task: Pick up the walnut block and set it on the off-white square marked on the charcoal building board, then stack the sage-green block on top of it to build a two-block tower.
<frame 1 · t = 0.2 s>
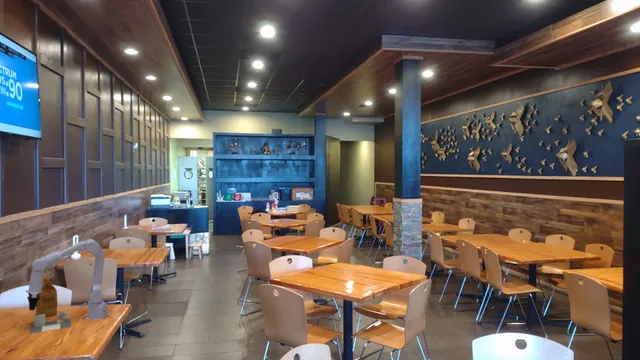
hand: (32, 308, 218), 10 cm above the table, tool pointing down, fingers open, 7 cm apart
coffee package: (46, 315, 238), on the table
sage block: (39, 325, 221), point 1 cm above the table, touching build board
walnut block: (62, 321, 226), point 1 cm above the table, touching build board
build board: (51, 326, 220), on the table
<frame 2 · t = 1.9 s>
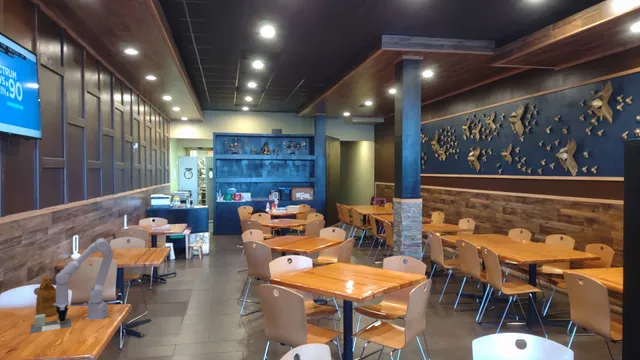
hand: (62, 319, 226), 2 cm above the table, tool pointing down, fingers closed on walnut block, 5 cm apart
walnut block: (62, 321, 226), point 1 cm above the table, touching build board, gripper
everything else where it was.
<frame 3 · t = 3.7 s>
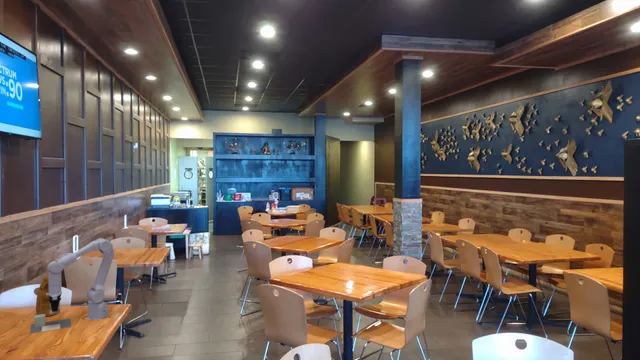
hand: (54, 310, 220), 9 cm above the table, tool pointing down, fingers closed on walnut block, 5 cm apart
walnut block: (54, 312, 220), point 8 cm above the table, touching gripper
everything else where it was.
when the fingers open (3 cm above the table, at t = 5.5 s): walnut block stays where it is, resting on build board.
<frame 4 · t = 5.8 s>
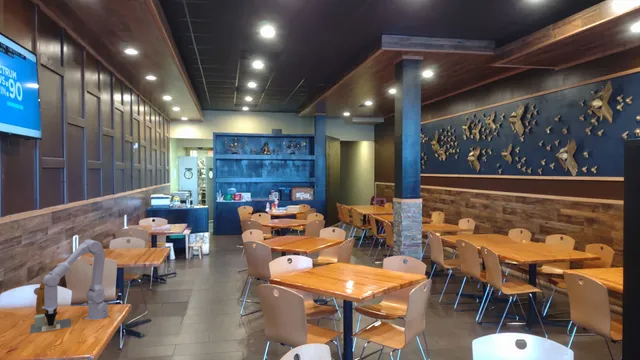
hand: (51, 323, 217), 3 cm above the table, tool pointing down, fingers open, 7 cm apart
walnut block: (50, 327, 217), point 1 cm above the table, touching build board
everything else where it was.
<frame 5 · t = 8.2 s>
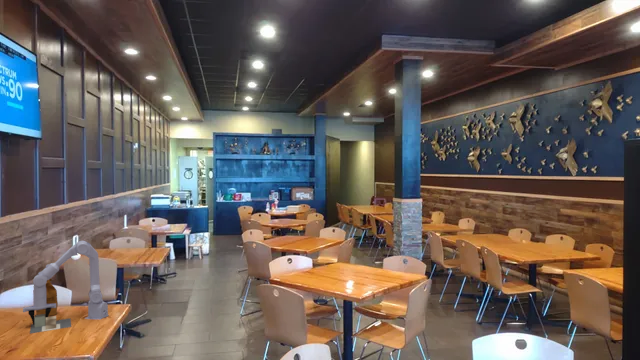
hand: (39, 323, 221), 2 cm above the table, tool pointing down, fingers closed on sage block, 5 cm apart
sage block: (39, 325, 221), point 1 cm above the table, touching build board, gripper
everything else where it was.
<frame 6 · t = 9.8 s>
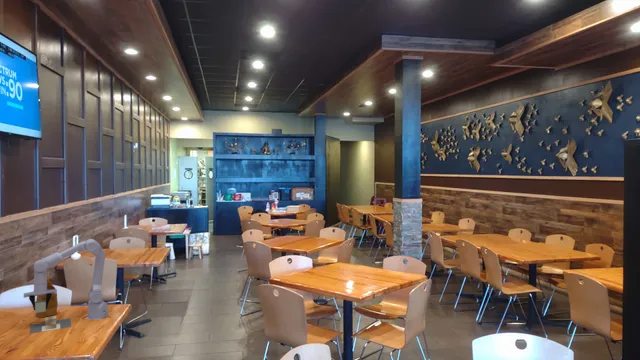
hand: (40, 308, 220), 9 cm above the table, tool pointing down, fingers closed on sage block, 5 cm apart
sage block: (40, 310, 220), point 8 cm above the table, touching gripper
everything else where it was.
when the fingers open (8 cm above the table, at t = 11.2 s): sage block stays where it is, resting on walnut block.
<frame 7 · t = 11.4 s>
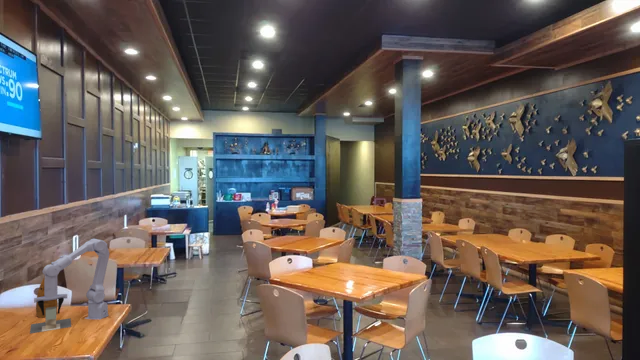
hand: (51, 313, 217), 8 cm above the table, tool pointing down, fingers open, 6 cm apart
sage block: (51, 317, 217), point 6 cm above the table, touching walnut block
walnut block: (50, 327, 217), point 1 cm above the table, touching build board, sage block
everything else where it was.
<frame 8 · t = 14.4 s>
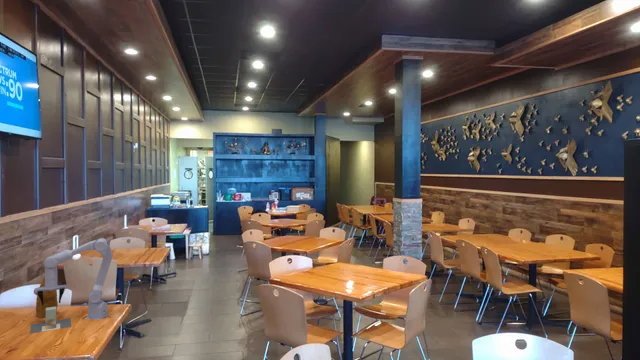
hand: (51, 303, 226), 10 cm above the table, tool pointing down, fingers open, 7 cm apart
nothing on the table moved.
at the end: walnut block 0.1 cm from the target spot, point 0.7 cm above the table; sage block 0.1 cm off-centre on the walnut block, point 5.0 cm above the walnut block's base; sage block tilted 0° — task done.
